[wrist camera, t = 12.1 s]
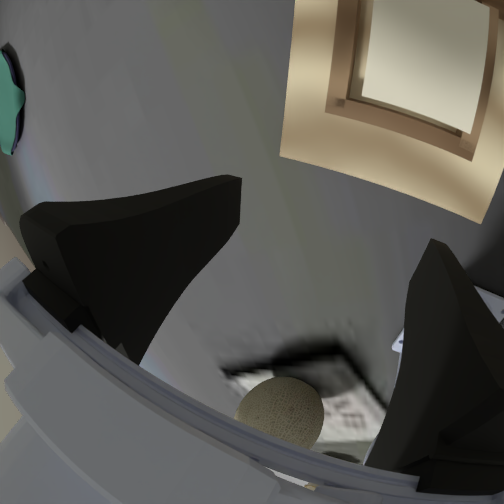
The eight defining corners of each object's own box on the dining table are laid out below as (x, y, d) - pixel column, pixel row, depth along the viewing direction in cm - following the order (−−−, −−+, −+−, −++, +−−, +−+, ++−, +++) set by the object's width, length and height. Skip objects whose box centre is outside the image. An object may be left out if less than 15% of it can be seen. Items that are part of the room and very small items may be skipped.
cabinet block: (439, 110, 12) (470, 134, 7) (372, 88, 13) (361, 96, 8) (453, 20, 8) (489, -11, 3) (384, -2, 10) (376, -48, 5)
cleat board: (477, 217, 15) (494, 260, 11) (284, 152, 19) (253, 176, 15) (523, 0, 5) (556, -15, 1) (305, -63, 9) (275, -95, 5)
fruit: (351, 380, 30) (305, 500, 19) (317, 411, 37) (276, 500, 27) (270, 345, 32) (203, 457, 21) (253, 383, 40) (202, 467, 29)
